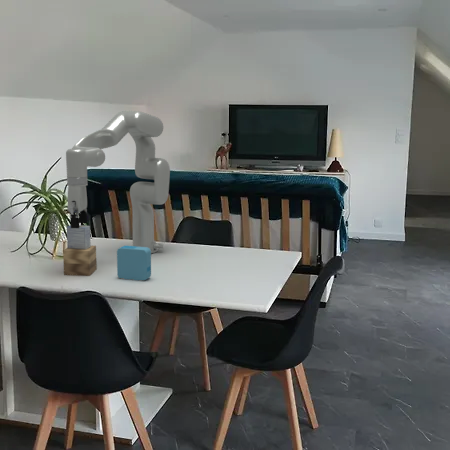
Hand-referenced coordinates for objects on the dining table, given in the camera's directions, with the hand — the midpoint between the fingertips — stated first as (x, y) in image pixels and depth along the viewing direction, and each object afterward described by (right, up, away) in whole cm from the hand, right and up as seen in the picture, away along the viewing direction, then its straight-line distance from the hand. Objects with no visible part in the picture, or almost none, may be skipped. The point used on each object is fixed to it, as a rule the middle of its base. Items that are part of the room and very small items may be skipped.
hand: (79, 225), depth 229 cm
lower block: (0, -19, +3) cm, 19 cm away
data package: (+22, -20, -5) cm, 30 cm away
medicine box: (0, -9, +1) cm, 9 cm away
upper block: (0, -14, +2) cm, 14 cm away
